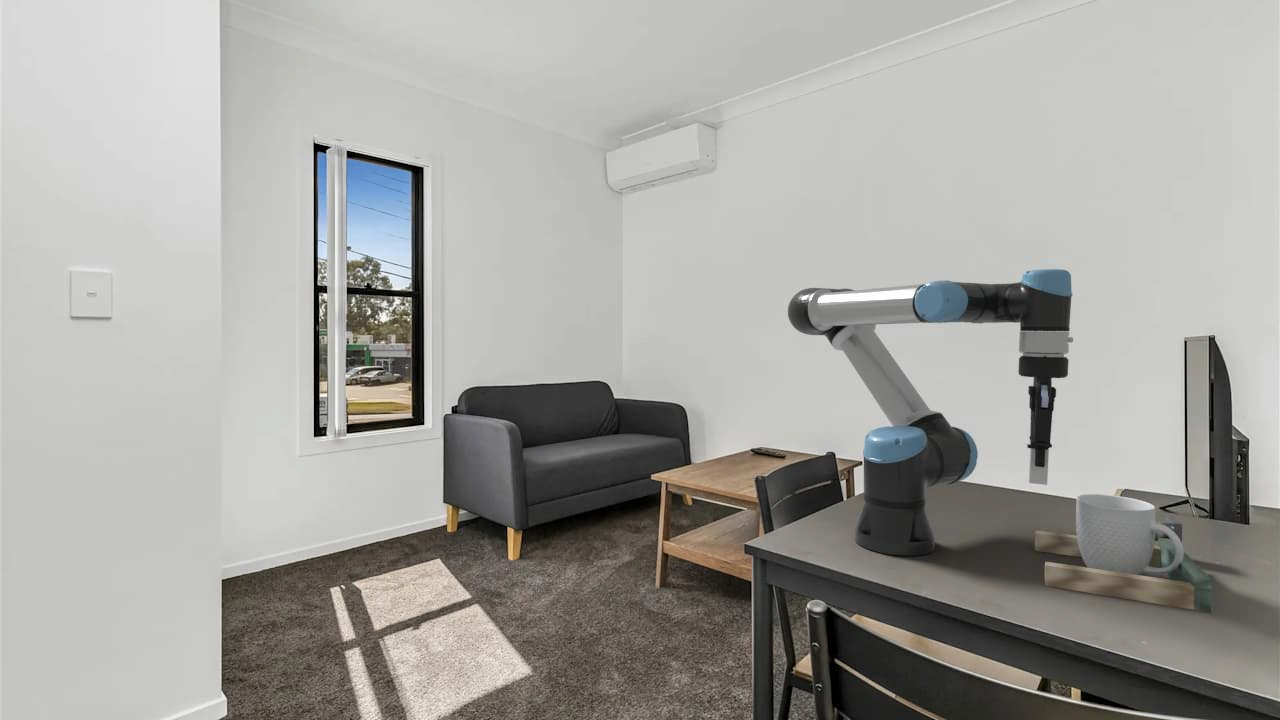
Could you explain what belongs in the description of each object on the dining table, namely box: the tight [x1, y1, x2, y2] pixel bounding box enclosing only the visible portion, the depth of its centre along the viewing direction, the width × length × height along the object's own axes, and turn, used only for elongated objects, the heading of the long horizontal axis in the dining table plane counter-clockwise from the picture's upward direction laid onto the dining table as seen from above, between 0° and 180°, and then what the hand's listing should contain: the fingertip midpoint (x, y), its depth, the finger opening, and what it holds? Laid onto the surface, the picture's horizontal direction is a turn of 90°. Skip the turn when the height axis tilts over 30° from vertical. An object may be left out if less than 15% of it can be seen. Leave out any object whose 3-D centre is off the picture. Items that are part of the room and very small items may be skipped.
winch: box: [1154, 515, 1183, 546], centre depth 115 cm, size 8×6×8 cm
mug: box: [1075, 493, 1185, 576], centre depth 105 cm, size 15×11×13 cm
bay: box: [1034, 529, 1213, 613], centre depth 106 cm, size 21×21×5 cm
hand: (1038, 482), depth 111 cm, fingers closed
